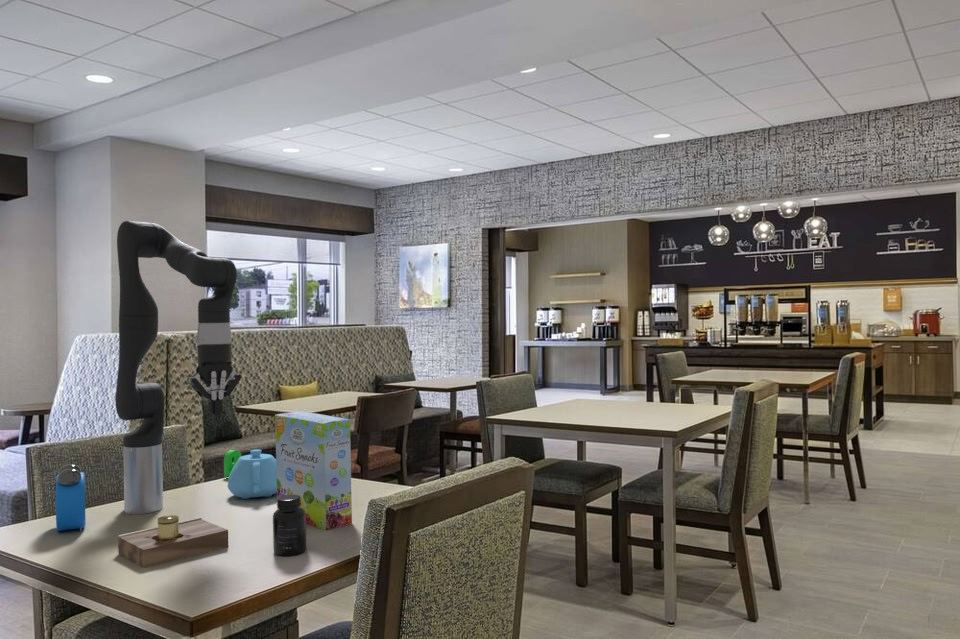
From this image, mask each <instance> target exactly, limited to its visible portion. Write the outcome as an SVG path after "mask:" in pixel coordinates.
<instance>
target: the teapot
mask: <svg viewBox="0 0 960 639" xmlns="http://www.w3.org/2000/svg"><path fill="white" fill-rule="evenodd" d="M241 456H242V457H240V458H239V459H238V460H237V462H236V464H235V465H234V467H233V469H232V471H231V473H230V476H229V477H228V479H227V489H228V490H229V492H230V493H231V494H232V495H233V496H234V497H238V498H240V499H241V500H248V499H250V498H261V497H263V498H271V497H272V495H275V494H277V471H276V457H274V456H273V455H272V454H267V453H262V449H251V450H250V454H246V455H241Z"/></svg>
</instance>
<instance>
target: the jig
mask: <svg viewBox="0 0 960 639" xmlns="http://www.w3.org/2000/svg"><path fill="white" fill-rule="evenodd" d="M178 524H179V538H178V539H174V540H169V541H159V542H158V526H156V527H150V528H146V529H145V528H144V529H142V530H137V531H132V532H127V533H122V534H120V535H119V534H118V535H117V539H118V541H117V542H118V544H117V548H118V555H119V556H121V557H123V558H125V559H127V560H129V561H130V562H132V563H134V564H136V565H138V566H139V567H142V568H144V569H145V568H149V567H152V566H157V565H161V564H164V563H165V564H166V563H169V562H172V561H173V562H174V561H176V560H177V561H178V560H180V559H185V558H189V557H192V556H193V557H194V556H197V555H200V554H201V555H202V554H205V553H209V552H214V551H219V550H221V549H225V548H229V529H228V528H224V527H222V526H219V525H217V524H215V523H212V522H211V521H210V522H209V521H208V520H205V519H202V517H197V518H193V519H188V520H183V521H178Z"/></svg>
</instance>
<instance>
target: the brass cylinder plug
mask: <svg viewBox="0 0 960 639" xmlns="http://www.w3.org/2000/svg"><path fill="white" fill-rule="evenodd" d="M179 518H180V517H179V515H175V514H173V515H172V514H171V515H168V514H167V515H163V516H159V517H157V527H158V542H159V541H169V540H174V539H178V538H179V524H178V522H180V521H179V520H180V519H179Z"/></svg>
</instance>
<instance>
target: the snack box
mask: <svg viewBox="0 0 960 639" xmlns="http://www.w3.org/2000/svg"><path fill="white" fill-rule="evenodd" d="M274 427H275V428H274V430H275V431H274V432H275V459H276V471H277V493H276V496H277V498H278V497H280V496H284V495H299V496H300V497H301V506H300V507H301V508H302V509H304V511H305V513H306V525H308V526H312V527H314V528H318V529H321V530H324V531H329V530H333V529H336V527H337V528H340V527H339V526H341V527H344V526H347V525H346V524H348V525H351V524H350V523H352V524H353V515H352V514H353V512H352V510H353V508H352V507H353V506H352V504H353V503H352V500H353V499H352V455H351V454H352V451H351V450H352V448H351V441H352V440H351V419H349V418H345V417H340V416H339V417H338V416H332V415H326V414H320V413H315V412H308V411H301V410H299V411H298V410H297V411H291V412H284V413H278V414H274ZM277 498H276V499H277ZM276 508H277V509H276V510H278V507H277V506H276ZM343 525H344V526H343ZM332 528H333V529H332Z"/></svg>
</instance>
